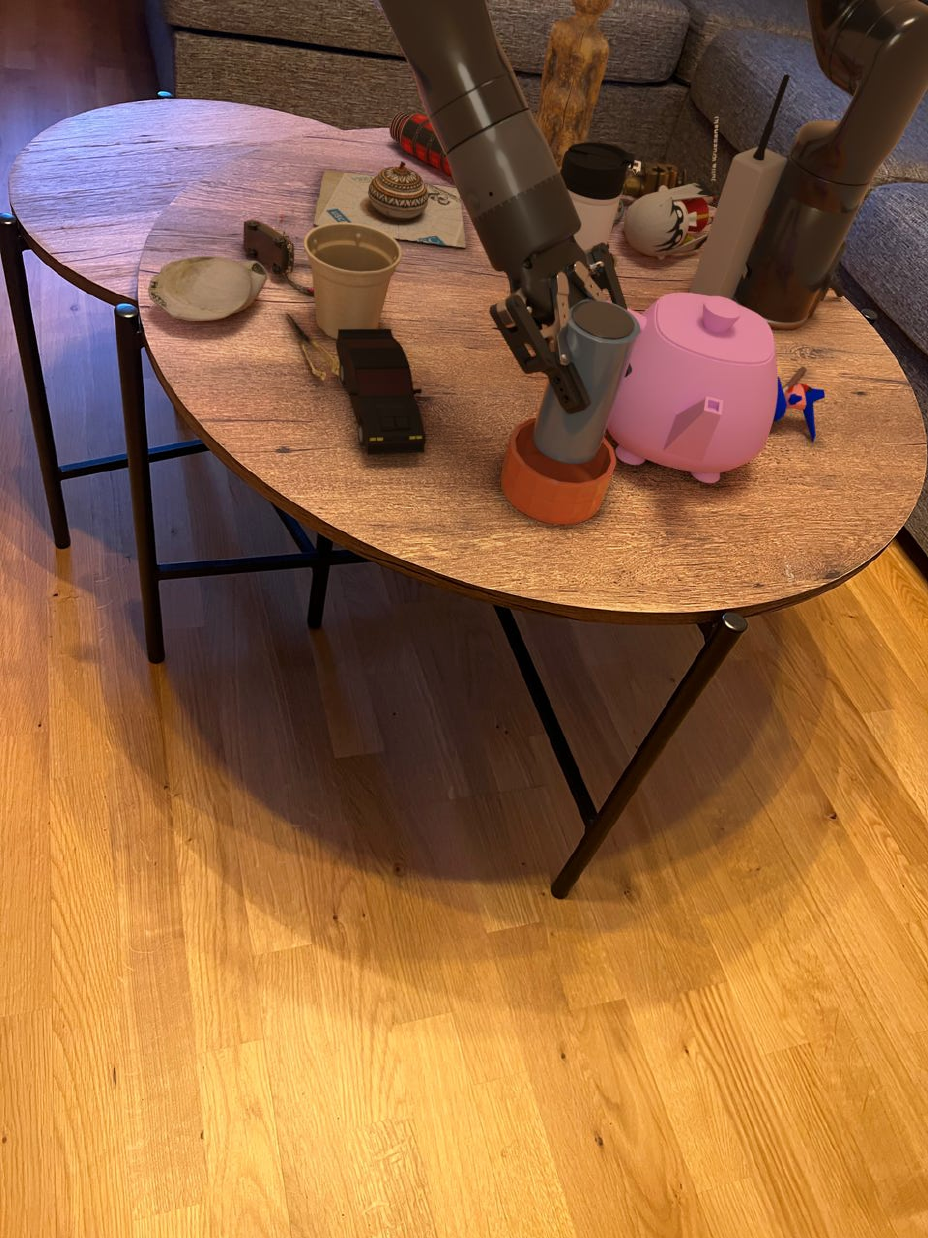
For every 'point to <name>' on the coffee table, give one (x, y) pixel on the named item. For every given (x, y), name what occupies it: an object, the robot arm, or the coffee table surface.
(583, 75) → the sculpture
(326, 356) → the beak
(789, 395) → the figurine
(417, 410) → the toy car
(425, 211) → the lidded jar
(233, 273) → the seashell
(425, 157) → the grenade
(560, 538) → the coffee table surface
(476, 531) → the coffee table surface
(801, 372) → the pen
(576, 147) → the travel mug
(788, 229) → the robot arm
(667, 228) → the toy
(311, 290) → the necklace
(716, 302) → the teapot
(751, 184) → the vintage mobile phone
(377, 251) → the flower pot
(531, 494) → the orange round bowl
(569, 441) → the grey metal cylinder
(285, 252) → the toy car
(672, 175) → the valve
